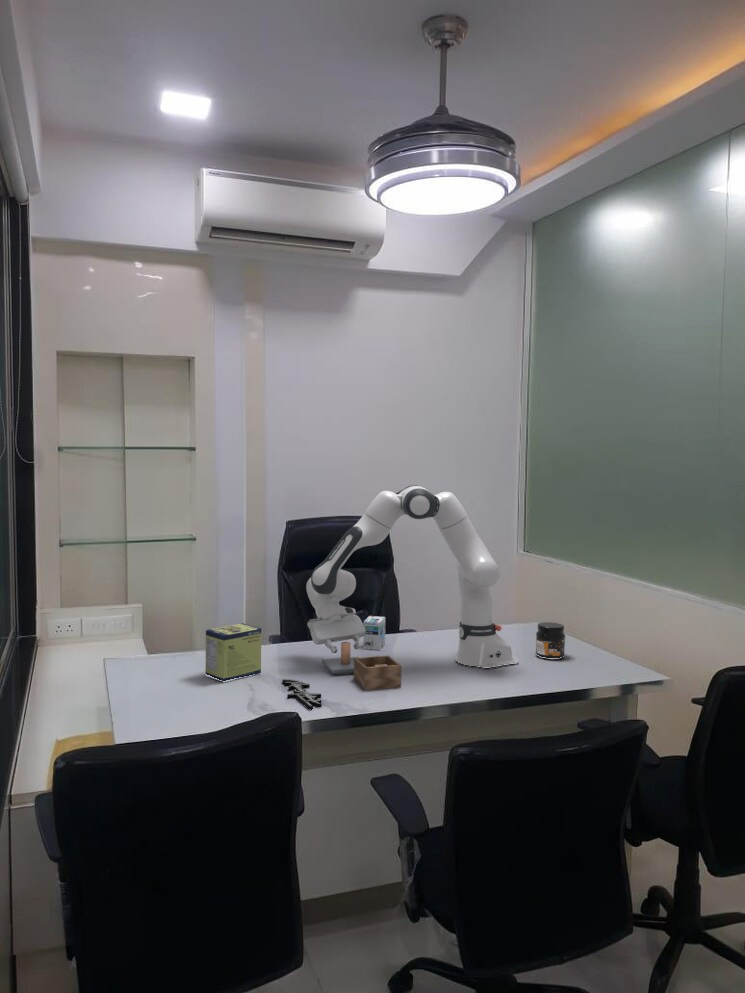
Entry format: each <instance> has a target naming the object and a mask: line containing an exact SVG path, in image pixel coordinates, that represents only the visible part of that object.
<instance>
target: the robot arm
mask: <svg viewBox="0 0 745 993" xmlns="http://www.w3.org/2000/svg"><path fill="white" fill-rule="evenodd" d="M405 515H406V516H408V517H409V518H411V519H414V520H423V519H427V518H433V520H434V521H435V523H436V526H437V528H438V529H439V531H440V533H441V535H442V537H443V538H444V541H445V543H446V544H447V546H448V548H449V550H450V551H451V553H452V554H453V555H454V557H455V559H456V561H457V562H456V569H457V574H458V584H459V592H460V593H459V594H460V621H459V627H458V638H459V641H458V649H457V653H456V656H455V660H456V661H457V662H458V663H457V662H456V661H455V662H456V663H457V664H459V663H461V664H464V665H463V666H465V665H470V666H469V667H471V666H480V667H493V666H498V665H504V664H510V663H515V662H518V663H519V659H518V658H517V657H515V656H514V655H513V650H512V647H511V644H510V643H509V642H508V641H507V640H505V639H504V638H502V637H501V636H500V635H499V634H498V633H497V632H501V631H502V629H503V628H502V627H503V626H501V625H499V624H495V623H493V599H492V596H491V590H490V587H493V586H495V584H496V583H497V582H498V581H499V579H500V575H501V574H500V572H501V571H500V568H499V566H498V564H497V563H496V560H495V559H494V558H493V556H492V555H491V553H490V551H489V550H488V548H487V546H486V545H485V543H484V542H483V541H482V539H481V538H480V536H479V535H478V533H477V531H476V529H475V526H474V525H473V524H472V522H471V519H470V517H469V515H468V514H467V512H466V510H465V508H464V507H463V505H462V504H461V502H460V500H458V498H457V497H456V495H455V494H454V493H453V492H451V491H442V492H439V493H437V494H433V493H431V492H430V491H429V490H428V489H427V488H425V487H423V486H420V485H417V484H412V485H408V486H407V487H405V488H403V489H402V490H400V491H398V492H396V493H395V492H392V491H390V490H383V491H381V492H379V493H378V494H377V495H376V496H375V497H374V499H373V500H372V501H371V502H370V504H369V505H368V506H367V507H366V510H365V511H364V512H363V514H362V516H361V518H360V519H359V520H358V521H357V522H356V523H355V524H354V525H353V526H352V527H350V528H349V529H348V530H347V531H346V532H345V533H344V534H343V536H341V538H340V539H339V541H337V543H336V544H335V546H334V547H333V549H332V550H331V551H330V552H329V554H328V555H327V556H326V558H325V559H324V560H323V561H322V562H321V563H319V564H318V565H317V566H316V567H315V568H314V569H313V571H312V573H311V576H310V577H309V579H308V580H307V582H306V587H305V588H306V589H305V590H306V593H307V597H308V599H309V602H310V604H311V605H312V607H313V608H314V610H315V614H316V617H317V618H311V619H309V620H308V621H307V627H308V629H309V632H310V635H311V639H312V642H313V643H314V644H315V645H323V644H324V645H325V647H326V648H327V649H329V650H330V652H331V654H337V652H338V651H339V650H338V648H337V646H335V645H333V644H332V643H337V642H343V641H348V640H353V642H354V644H353V645H352V646H353V648H354V650H360V649H361V644H360V638H363V637H364V634H365V627H364V622H363V621H362V619H361V618H360V616H359V615H357V612H356V609H355V608H353V607H348V606H343V605H340V602H341V601H344V600H346V599H347V598H349V597H351V596H352V595H353V593H355V590H356V588H357V579H356V576H355V575H354V574H353V573H352V572H350V571H348V570H344V569H342V567H343V566H344V565H345V563H346V562H347V561H348V560H349V558H350V556H352V554H353V553H354V552H355V551H357V550H358V549H361V548H364V547H368V546H369V547H370V546H377V545H378V544H381V543H382V542H384V540H386V538H387V537H388V535H390V532H391V531H392V529H393V527H394V526H395V523H396V522H397V521H398V519H399V518H401V517H402V516H405ZM514 659H516V660H514ZM461 664H460V665H461Z"/></svg>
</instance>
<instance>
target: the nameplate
mask: <svg viewBox="0 0 745 993" xmlns="http://www.w3.org/2000/svg"><path fill="white" fill-rule="evenodd" d="M281 681H282V682H281V683H282V685H283V686H284V687H287V686H289V687H287V688H288V691H289V692H291V691H293V693H287V695H286V696H287V697H286V698H287V700H290V698H292V699H295V698H296V699H297V701H298V703H300V704H301V703H302V704H303V705H302V704H301V705H302V706H304V705H305V706H306V707H307V708H308V709H311V710H310V711H313V710H314V707H316V708H318V707H322V699H321V698H322V693H318V692H317V693H316V692H315V693H314V692H308V691H306V690H307V689H310V683H308V682H307V683H306V682H303V681H302V680H297V679H290V678H289V679H287V678H285V679H282V680H281ZM305 706H304V707H305ZM306 707H305V708H306ZM307 708H306V709H307ZM308 709H307V710H308ZM312 709H313V710H312Z"/></svg>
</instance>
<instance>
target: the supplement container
mask: <svg viewBox="0 0 745 993" xmlns="http://www.w3.org/2000/svg"><path fill="white" fill-rule="evenodd" d="M535 636H536V639H535V655H536V654H537V655H539V656H541V657H546V658H560V657H563V656H564V657H565V655H566V654H565V653H566V652H565V650H566V648H565V647H566V634H565V625H564V624H562V623H558V622H549V621H545V622H539V623H538V624H537V631H536V633H535ZM537 655H536V656H537Z"/></svg>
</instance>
